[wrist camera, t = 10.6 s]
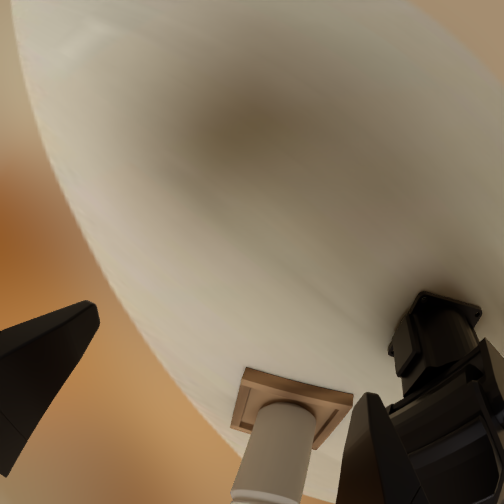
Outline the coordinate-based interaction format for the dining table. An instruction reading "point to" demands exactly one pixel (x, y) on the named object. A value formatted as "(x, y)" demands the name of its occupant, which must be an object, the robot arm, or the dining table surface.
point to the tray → (283, 390)
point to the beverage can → (276, 456)
